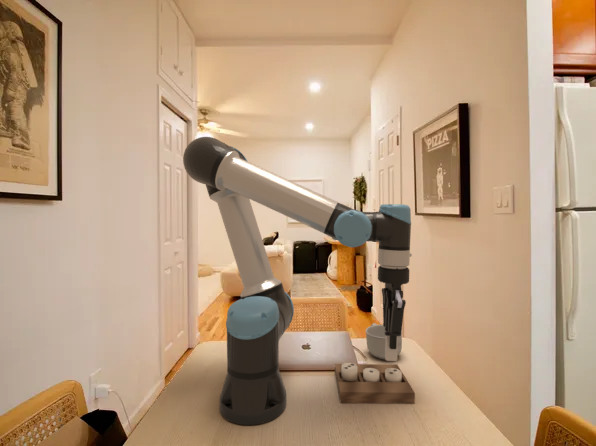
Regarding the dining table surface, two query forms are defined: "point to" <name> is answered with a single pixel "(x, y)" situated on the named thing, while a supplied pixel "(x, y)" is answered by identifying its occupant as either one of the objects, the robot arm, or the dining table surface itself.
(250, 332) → the robot arm
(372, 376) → the button one
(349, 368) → the button three
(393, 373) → the button two
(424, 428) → the dining table surface
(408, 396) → the panel
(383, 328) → the teacup
